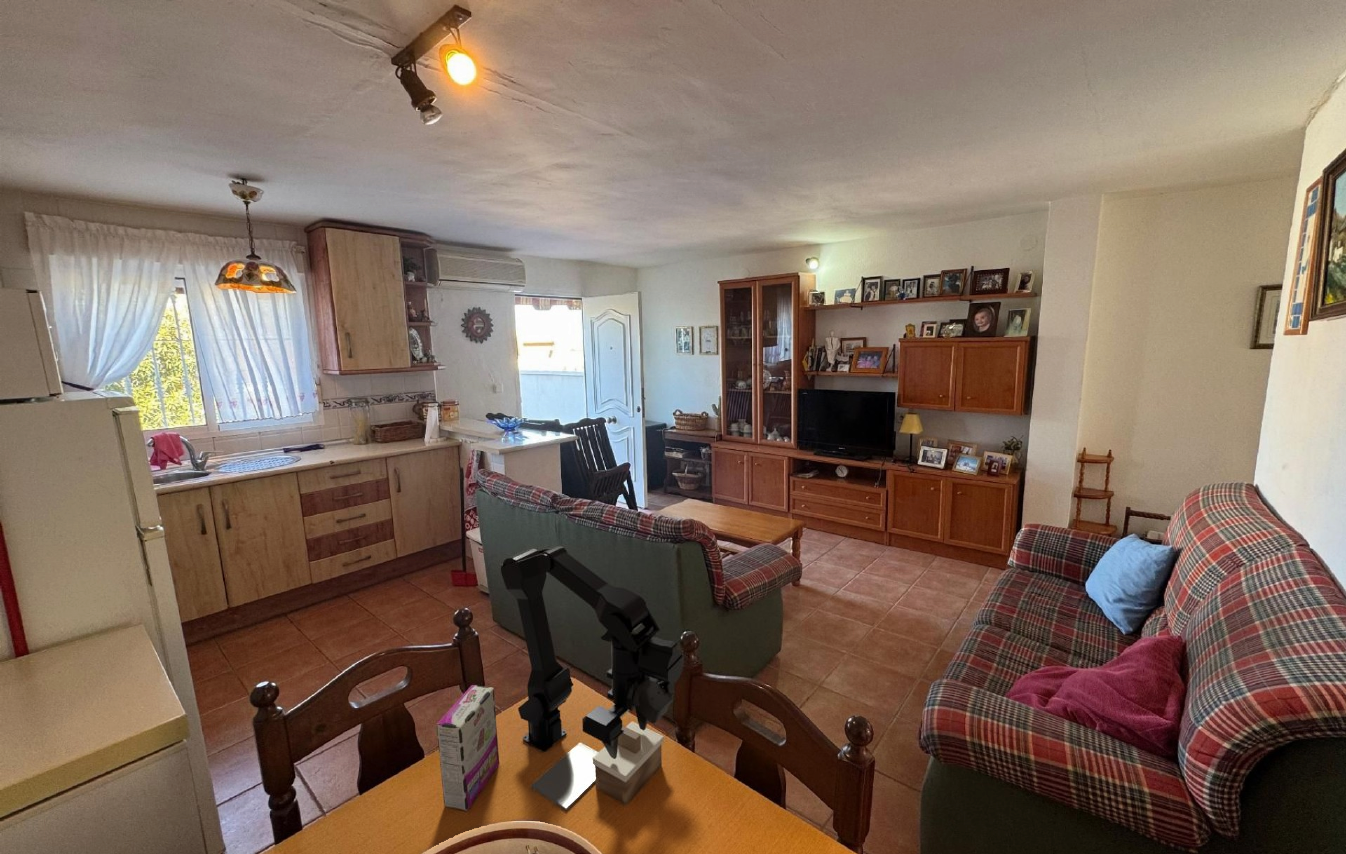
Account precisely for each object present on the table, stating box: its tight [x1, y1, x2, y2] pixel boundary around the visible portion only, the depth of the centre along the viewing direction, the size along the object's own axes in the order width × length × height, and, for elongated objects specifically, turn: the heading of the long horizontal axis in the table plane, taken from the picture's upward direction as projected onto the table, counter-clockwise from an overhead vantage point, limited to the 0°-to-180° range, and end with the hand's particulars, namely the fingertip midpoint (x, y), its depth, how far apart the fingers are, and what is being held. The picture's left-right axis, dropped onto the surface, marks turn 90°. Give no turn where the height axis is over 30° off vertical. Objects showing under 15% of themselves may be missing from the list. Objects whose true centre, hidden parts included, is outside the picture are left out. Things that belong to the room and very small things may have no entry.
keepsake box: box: [595, 744, 663, 806], centre depth 101 cm, size 11×7×5 cm, turn 146°
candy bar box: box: [436, 684, 500, 812], centre depth 98 cm, size 11×5×16 cm, turn 168°
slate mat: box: [530, 742, 599, 812], centre depth 101 cm, size 9×13×1 cm
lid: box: [593, 720, 665, 782], centre depth 100 cm, size 12×8×5 cm, turn 146°
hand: (628, 743), depth 100 cm, fingers open, 8 cm apart
